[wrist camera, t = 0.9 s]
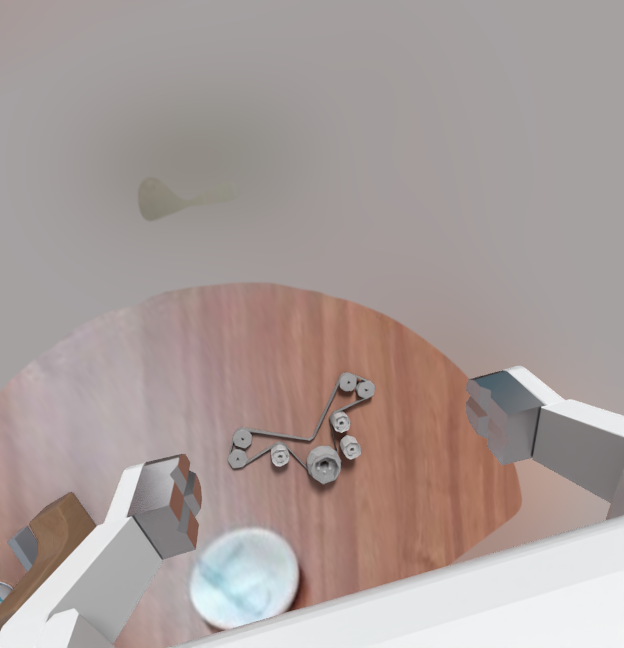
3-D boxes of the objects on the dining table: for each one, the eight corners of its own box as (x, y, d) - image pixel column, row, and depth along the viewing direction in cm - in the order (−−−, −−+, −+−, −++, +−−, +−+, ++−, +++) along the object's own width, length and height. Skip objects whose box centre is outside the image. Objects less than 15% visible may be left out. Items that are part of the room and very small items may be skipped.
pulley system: (394, 433, 65) (360, 361, 62) (405, 444, 60) (369, 367, 58) (259, 508, 62) (217, 436, 60) (259, 526, 58) (215, 449, 55)
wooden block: (45, 506, 55) (-54, 601, 37) (72, 490, 55) (-12, 575, 38) (78, 552, 56) (-2, 666, 38) (105, 535, 56) (38, 640, 39)
